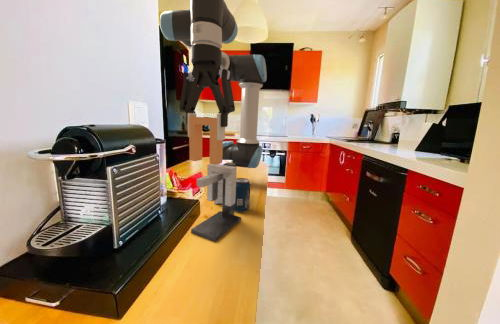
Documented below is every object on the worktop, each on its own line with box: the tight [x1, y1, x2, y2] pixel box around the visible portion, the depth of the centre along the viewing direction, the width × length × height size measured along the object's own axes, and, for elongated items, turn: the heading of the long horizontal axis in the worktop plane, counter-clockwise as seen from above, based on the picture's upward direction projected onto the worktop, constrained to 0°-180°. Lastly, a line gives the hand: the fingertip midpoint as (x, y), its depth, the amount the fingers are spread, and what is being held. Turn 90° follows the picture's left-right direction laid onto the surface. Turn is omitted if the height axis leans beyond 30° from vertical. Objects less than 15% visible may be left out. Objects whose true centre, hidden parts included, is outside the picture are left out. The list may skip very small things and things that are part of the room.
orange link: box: [188, 116, 224, 165], centre depth 55 cm, size 3×9×12 cm, turn 63°
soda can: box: [234, 177, 251, 213], centre depth 78 cm, size 7×7×12 cm
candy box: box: [213, 160, 233, 206], centre depth 88 cm, size 14×6×16 cm, turn 178°
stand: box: [190, 162, 242, 243], centre depth 63 cm, size 16×9×20 cm, turn 153°
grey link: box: [206, 163, 238, 206], centre depth 65 cm, size 3×9×12 cm, turn 63°
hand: (205, 138), depth 55 cm, fingers closed on orange link, 9 cm apart
